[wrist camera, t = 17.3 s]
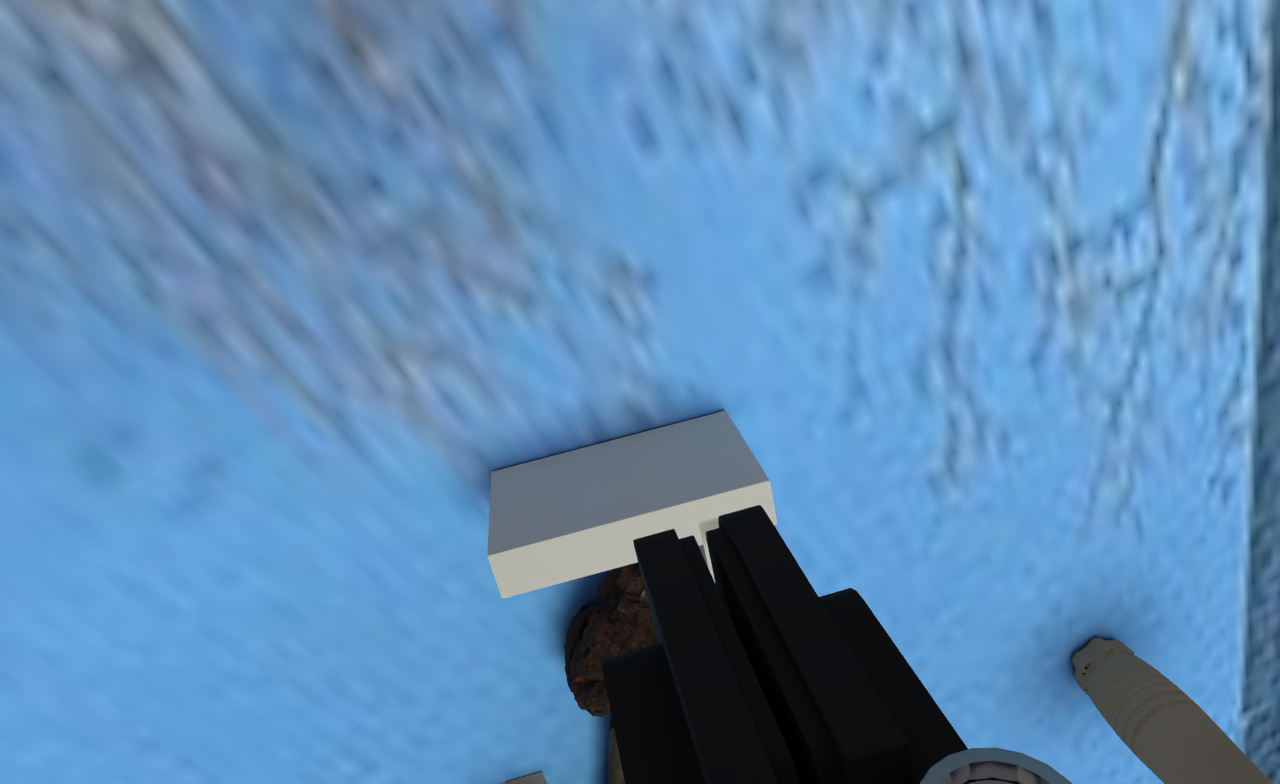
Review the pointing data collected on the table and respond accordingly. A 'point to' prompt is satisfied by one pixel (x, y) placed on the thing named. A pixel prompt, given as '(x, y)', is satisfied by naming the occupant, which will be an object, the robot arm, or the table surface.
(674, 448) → the sliding end cap
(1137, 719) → the handle
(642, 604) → the brown lumpy-headed club
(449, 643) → the table surface
